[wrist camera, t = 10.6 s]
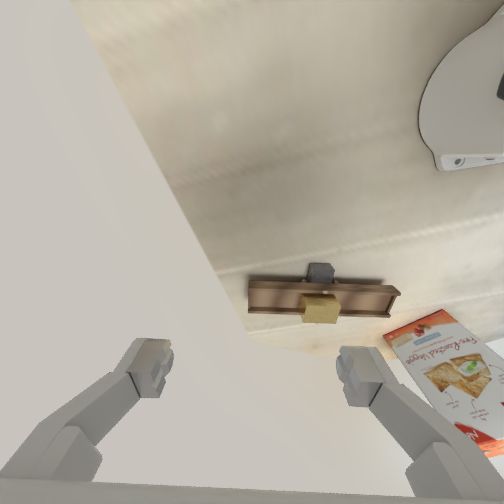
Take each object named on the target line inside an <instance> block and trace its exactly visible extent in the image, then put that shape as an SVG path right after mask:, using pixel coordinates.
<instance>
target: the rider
mask: <svg viewBox="0 0 504 504" xmlns="http://www.w3.org/2000/svg"><path fill="white" fill-rule="evenodd" d="M298 308H299V311H300V314H301V318H302V321H303V322H304V323H331V324H336V321H337V318H338V315H339V312H340V309H341V306H340V304H339V302H338V300H337V299H336V297H335V295H334V294H323V293H301V296H300V301H299V306H298Z"/></svg>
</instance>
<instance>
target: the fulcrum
mask: <svg viewBox="0 0 504 504" xmlns="http://www.w3.org/2000/svg"><path fill="white" fill-rule="evenodd" d="M334 272H335V270H334V268H333V267H332V266H331V264H327V263H310V266H309V271H308V276H307V281H306V282H307V283H332V279H333V275H334Z"/></svg>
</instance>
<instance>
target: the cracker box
mask: <svg viewBox="0 0 504 504" xmlns="http://www.w3.org/2000/svg"><path fill="white" fill-rule="evenodd" d="M384 338H385V339H386V341H387V342H388V344H389V345H390V347H391V348H392V350H393V351H394V353H395V354H396V355H397V357H398V358H399V360H400V361H401V363H402V364H403V365H404V367H405V368H406V370H407V371H408V373H409V374H410V375H411V377H412V378H413V380H414V381H415V382H416V384H417V385H418V387H419V388H420V389H421V391H422V392H423V393H424V395H425V397H426V398H427V399H428V401H429V402H430V404H431V405H432V406H433V408H434V409H435V410H436V411H437V412H438V413H439V414H441V415H442V416H443V417H444V418H446V419H447V420H448V421H449V422H451V423H452V424H453V425H454V426H456V427H457V428H458V429H459V430H461V431H462V432H463V433H464V434H466V435H467V436H468V437H469V438H470V439H472V440H473V441H474V442H475V443H476V444H477V445H478V446H479V448H480V449H481V450H482V452H483V453H484V454H485V456H486V457H487V458H489V457H494V456H498V455H502V454H504V359H503V358H501V357H500V356H499V355H498V354H497V353H496V352H494V351H493V350H492V349H491V348H489V347H488V346H487V345H486V344H485V343H483V342H482V341H481V340H480V339H479V338H477V337H476V336H475V335H474V334H473V333H471V332H470V331H469V330H468V329H466V328H465V327H464V326H463V325H462V324H460V323H459V322H458V321H457V320H455V319H454V318H453V317H452V316H451V315H449V314H448V313H447V312H446V311H444V310H441V311H439V312H437V313H434V314H432V315H430V316H428V317H425V318H423V319H421V320H418V321H416V322H414V323H412V324H409V325H407V326H405V327H402V328H400V329H398V330H395V331H393V332H391V333H389V334H386V335H384Z"/></svg>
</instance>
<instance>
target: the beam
mask: <svg viewBox="0 0 504 504" xmlns="http://www.w3.org/2000/svg"><path fill="white" fill-rule="evenodd" d="M301 293H323V294H334V295H335V297H336V299H337V300H338V302H339V304H340V306H341V309H340V312H339V315H338V316H353V317H384V318H390V316H391V315H390V314H389V312H390V310H391V307H392V305H393V303H394V301H395V299H396V297H397V296H400V295H401V293H400V292H399V291H398V290H397V289H396V288H395V287H394V286H392V285H363V284H340V283H339V282H338V281H333V283H307V282H306V280H301V282H274V281H249V297H248V313H258V314H290V315H301V314H300V311H299V308H298V306H299V301H300V296H301Z"/></svg>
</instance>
